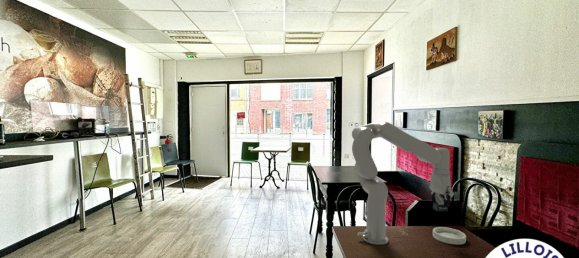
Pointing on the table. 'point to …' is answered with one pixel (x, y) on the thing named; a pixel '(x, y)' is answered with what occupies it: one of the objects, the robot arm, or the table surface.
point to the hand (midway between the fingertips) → (440, 204)
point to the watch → (439, 203)
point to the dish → (449, 235)
